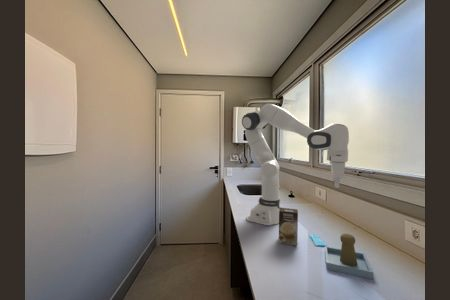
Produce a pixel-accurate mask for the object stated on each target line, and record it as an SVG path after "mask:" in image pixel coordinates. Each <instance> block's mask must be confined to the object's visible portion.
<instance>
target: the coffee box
mask: <svg viewBox="0 0 450 300" xmlns="http://www.w3.org/2000/svg"><path fill="white" fill-rule="evenodd" d="M298 222H299V211H298V209H296V208H290V207H289V208H288V207H281V206H280V209H279V224H278V243H279V244H285V245H291V246H292V245H293V246H298V239H299V238H298V233H299V232H298V229H299V227H298V226H299V223H298Z"/></svg>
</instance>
